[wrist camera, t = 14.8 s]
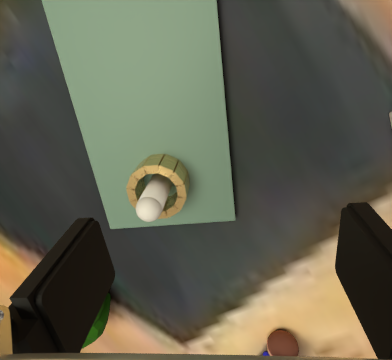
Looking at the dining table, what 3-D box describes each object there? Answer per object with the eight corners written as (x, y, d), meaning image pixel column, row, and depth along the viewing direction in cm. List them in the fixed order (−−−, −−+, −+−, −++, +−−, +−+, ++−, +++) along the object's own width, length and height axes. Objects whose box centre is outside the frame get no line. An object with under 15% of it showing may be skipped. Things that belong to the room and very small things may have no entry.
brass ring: (131, 156, 35) (121, 168, 32) (185, 151, 34) (181, 162, 31) (142, 204, 38) (133, 220, 34) (192, 200, 37) (189, 216, 34)
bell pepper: (122, 279, 46) (98, 334, 37) (113, 312, 50) (89, 370, 40) (73, 265, 46) (36, 317, 37) (67, 299, 49) (33, 354, 40)
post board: (44, -14, 30) (-38, -47, 20) (212, -46, 27) (208, -100, 18) (114, 223, 42) (83, 272, 32) (234, 214, 39) (239, 265, 30)
